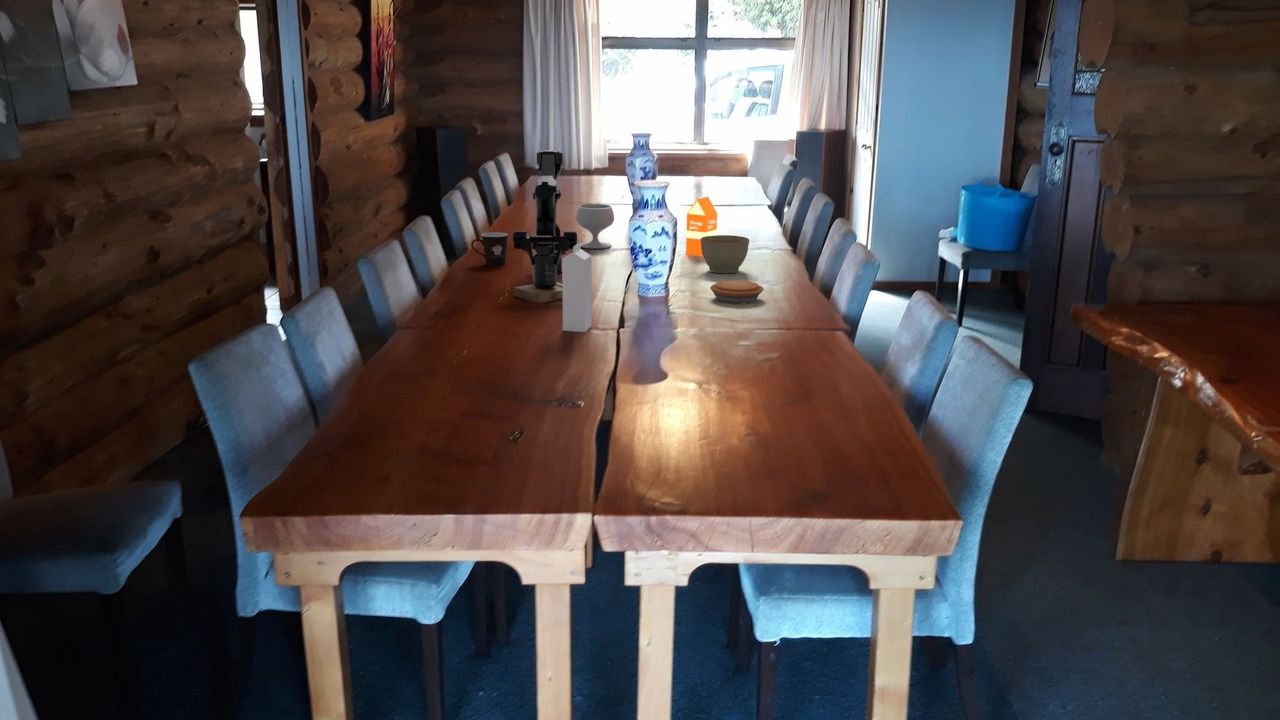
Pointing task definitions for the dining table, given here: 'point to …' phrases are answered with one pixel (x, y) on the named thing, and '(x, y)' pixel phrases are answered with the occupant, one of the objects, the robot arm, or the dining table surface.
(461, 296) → the dining table surface
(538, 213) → the robot arm
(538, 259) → the supplement bottle
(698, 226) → the orange juice
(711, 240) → the planter bowl
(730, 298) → the pie
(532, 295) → the beige flat block
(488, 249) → the coffee mug
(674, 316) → the dining table surface
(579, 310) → the milk
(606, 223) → the chalice
